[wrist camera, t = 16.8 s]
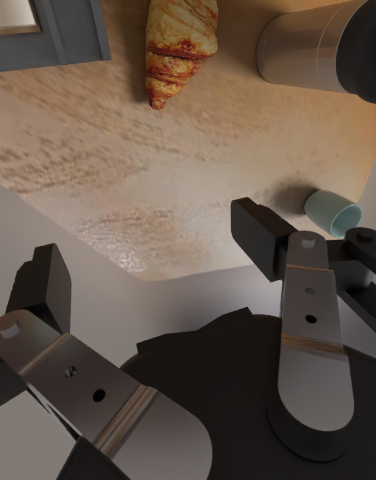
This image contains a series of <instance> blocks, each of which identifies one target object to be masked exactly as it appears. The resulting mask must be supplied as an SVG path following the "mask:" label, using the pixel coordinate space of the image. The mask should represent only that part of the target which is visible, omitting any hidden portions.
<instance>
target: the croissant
mask: <svg viewBox="0 0 376 480" xmlns="http://www.w3.org/2000/svg"><path fill="white" fill-rule="evenodd" d="M216 1H217V0H150V5H149V12H148V22H147V26H146V59H145V61H146V73H147V77H146V90H147V94H148V97H149V105H150V106H151V107H152V108H153V109H157V110H160V109H162V108H164V105H165V103H166V101H167V99H168V98H170V97H173V96H175V95H176V94H178V93H179V92H180V91H181V90H182V89H183V88H184V85H185V84H186V83H188V81H189V78H190V77H192V76H194V75H195V74H198V73H199V71H200V69H201V67H202V65H203V64H204V62H205V61H206V59H207V58H208V57H211V56H213V55H214V54H216V52H217V49H218V44H217V37H216V36H215V32H216V29H217V23H218V15H219V12H218V7H217V2H216Z"/></svg>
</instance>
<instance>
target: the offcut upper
mask: <svg viewBox="0 0 376 480" xmlns="http://www.w3.org/2000/svg"><path fill="white" fill-rule="evenodd" d="M28 26H37V24H36V21H35V17H34V14H33V11H32V8H31V5H30V2H29V0H0V29H4V28H16V27H28Z"/></svg>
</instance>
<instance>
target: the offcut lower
mask: <svg viewBox="0 0 376 480" xmlns="http://www.w3.org/2000/svg"><path fill="white" fill-rule="evenodd" d="M29 2H30V5H31V8H32V11H33V14H34V17H35V21H36V24H37V26H28V27H16V28H4V29H0V36H5V35H17V34H28V33H39V32H42V29H41V26H40V23H39V20H38V16H37V13H36V10H35V7H34V4H33V0H29Z"/></svg>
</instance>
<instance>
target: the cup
mask: <svg viewBox="0 0 376 480" xmlns="http://www.w3.org/2000/svg"><path fill="white" fill-rule="evenodd" d="M304 210H305V213H306V215H307V216H308V218H309V219H310V220H311V221H312V222H313V223H315V224H316V225H317V226H318V227H320V228H321V229H322V230H324V231H325V232H327V233H328V234H330V235H331V236H333V237H335V238H342V237H345V233H346V231H347V230H349V229H351V228H356V227H357V226H358V225H359V223H360V221H361V219H362V215H363V212H362V209H361V207H360V206H359V205H358V204H356V203H354V202H352V201H351V200H349V199H347V198H345V197H343V196H341V195H339V194H336V193H334V192H331V191H327V190H320V191H317V192H315V193H313V194H312V195H311V196H310V197H309V198H308V199H307V200H306V202H305V206H304Z"/></svg>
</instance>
